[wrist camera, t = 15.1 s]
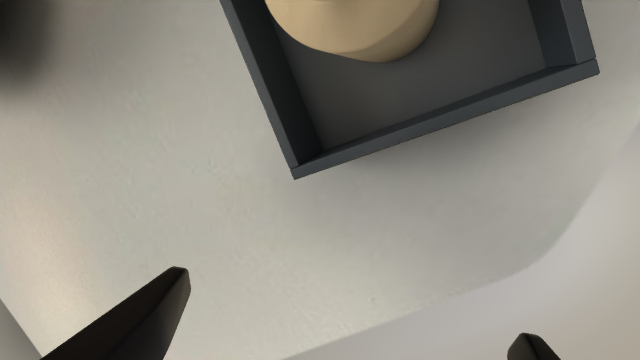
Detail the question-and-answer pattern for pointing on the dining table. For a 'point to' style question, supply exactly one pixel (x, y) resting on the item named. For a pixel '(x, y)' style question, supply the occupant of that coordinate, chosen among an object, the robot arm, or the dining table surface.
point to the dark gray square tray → (408, 75)
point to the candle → (358, 25)
